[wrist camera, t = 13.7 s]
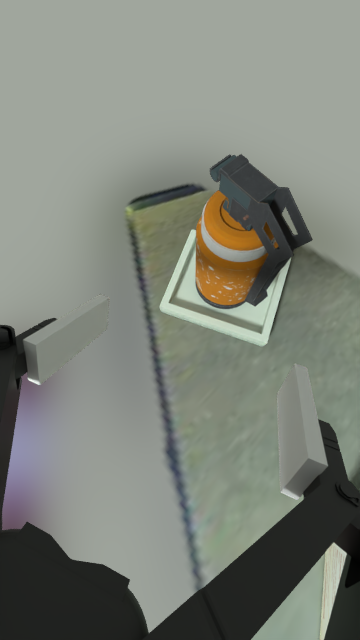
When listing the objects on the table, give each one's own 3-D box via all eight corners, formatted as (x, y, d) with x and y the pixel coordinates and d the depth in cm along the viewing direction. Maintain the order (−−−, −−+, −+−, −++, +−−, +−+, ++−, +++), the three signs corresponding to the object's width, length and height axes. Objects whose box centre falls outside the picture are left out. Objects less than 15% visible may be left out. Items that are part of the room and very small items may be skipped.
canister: (226, 247, 41) (254, 117, 22) (275, 296, 38) (358, 194, 19) (183, 280, 40) (173, 172, 20) (231, 333, 37) (272, 264, 18)
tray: (285, 265, 40) (291, 257, 38) (262, 346, 37) (267, 343, 34) (191, 238, 43) (191, 229, 40) (161, 312, 39) (159, 306, 37)
